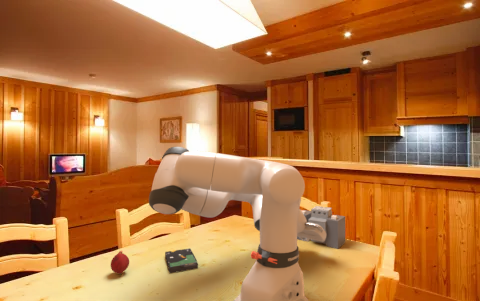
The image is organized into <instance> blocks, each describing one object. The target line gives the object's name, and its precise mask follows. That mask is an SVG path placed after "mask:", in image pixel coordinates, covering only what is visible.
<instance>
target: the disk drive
mask: <svg viewBox="0 0 480 301" xmlns="http://www.w3.org/2000/svg"><path fill="white" fill-rule="evenodd" d="M164 257H165V261H166V266H167V270H168V273H169V274H173V273H178V272H186V271H190V270H195V269H198V268H199V264H198V263H199V262H198V261H197V258H196V257H195V255H194V253H193V251H192V249H191V248H184V249H177V250H175V251H171V250H169V251H165V252H164Z"/></svg>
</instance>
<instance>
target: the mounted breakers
mask: <svg viewBox="0 0 480 301" xmlns="http://www.w3.org/2000/svg"><path fill="white" fill-rule="evenodd" d="M301 211H302V212H303V214H304V216H305V217H306V220H307V222H308V219H310V218H311V210H306V209H305V210H304V209H303V210H302V209H301ZM326 234H327V235H326V244H325V245H326V247H327V248H328V247H329V248H332V249H336V250H338V249H340V247H342V246H343V245H345V243H346V216H344V215H339V214H332V216H331V217H329V218H328V219H326ZM297 241H303V242H305V241H304V240H302V239H301V238H299V237H298V236H297Z"/></svg>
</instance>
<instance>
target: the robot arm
mask: <svg viewBox="0 0 480 301" xmlns="http://www.w3.org/2000/svg"><path fill="white" fill-rule="evenodd" d="M161 157H162V158H161V161H160V164H159V166H158V168H157V170H156V172H155V174H154V177H153V181H152V186H151V191H150V192H149V196H148V205H149V207H150V208H151V209H152V210H153V211H154V212H157V213H160V214H163V215H174V214H176V213H178V212H180V211H184V212H187V213H189V214H192V215H196V216H199V217H204V218H215V217H217V216H219V215H220V214H221V213H223V211H224V210H225V208H226V207H227V205H228V204H229V201H239V202H244V203H245V202H246V203H248V204H250V205H251V207H252V217H253V225H254V228H255V229H256V230H257V231H259V244H258V247H257V249H256V250H257V251H255V250H253V251H251V253H250V258H251V259H253V260H255V262H254V263H253V265H252V267H251V268H250V270H249V271H248V273H247V274H246V276H245V278H244V279H243V281H242V283H241V288H240V293H239V294H238V296H236V297H235V298H234V300H233V301H309V299H308V298H307V296H306V295H305V284H304V282H305V281H304V272H303V271H302V268H301V267H300V264H299V259H300V250H299V248H300V247H299V246H298V239H297V236H298V237H299V238H301V239H302V240H304V241H303V242H307V243H308V242H310V240H311V239H312V240H316V241H321V242H324V241H325V239H326V235H327V234H326V232H325V230H324V229H323V228H322V227H321V226H320V225H318V224H314V223H309V222H307V220H306V217H305V216H304V214H303V212H302V209H300V207H301V201H302V197H303V195H304V192H305V190H306V189H305V188H306V185H305V180H304V178H303V175H302V174H301V173H300V171H299V170H298V169H297V168H296V167H294V166H292V165H290V164H286V163H283V162H278V161H273V160H272V161H271V160H265V159H258V158H252V157H245V156H239V155H233V154H226V153H219V152H213V151H198V150H197V151H190V150H189V149H188V148H185V147H183V146H171V147H170V148H167V149H166V150H165V152H164V154H163V155H162V156H161ZM302 240H301V241H302Z"/></svg>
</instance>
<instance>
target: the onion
mask: <svg viewBox="0 0 480 301" xmlns="http://www.w3.org/2000/svg"><path fill="white" fill-rule="evenodd" d="M129 266H130V258H129V257H128V256H127V255H126V254H125V253H123V250H119V251H118V252H117V254H116V255H114V256H113V258H112V259H111V261H110V269H111V271H112V272H113V273H115V274H117V275H122V274H123V272H125V271H126V270H127V269H128V268H129Z"/></svg>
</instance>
